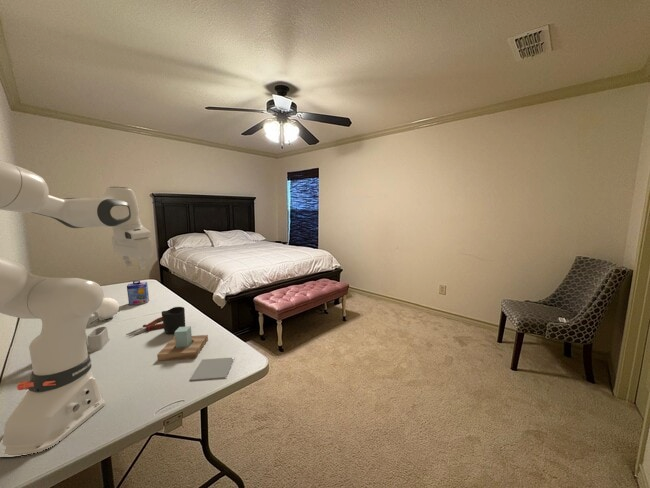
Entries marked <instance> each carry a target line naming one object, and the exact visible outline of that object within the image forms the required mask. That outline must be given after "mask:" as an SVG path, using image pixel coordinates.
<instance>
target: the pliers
mask: <svg viewBox="0 0 650 488" xmlns="http://www.w3.org/2000/svg"><path fill="white" fill-rule="evenodd" d="M159 329H164V326H163V319H162V316H160V317H158V318H156V319H154V320H152V321H150V322H148V324H143V325H142V327H139V328H137V329H135V330H133V331H131V332H129V333H126V334H125V336H129V337H132V336H135V335H139V334H142V333H143V334H144V333H145V332H151V331H153V330H159Z"/></svg>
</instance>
